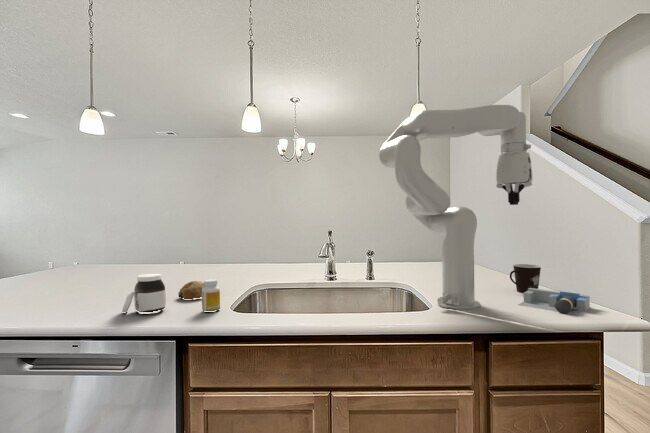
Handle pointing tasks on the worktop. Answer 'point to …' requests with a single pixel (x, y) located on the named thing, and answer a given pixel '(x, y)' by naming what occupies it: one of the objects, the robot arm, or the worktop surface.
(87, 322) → the worktop surface
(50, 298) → the worktop surface
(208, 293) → the supplement bottle
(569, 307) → the banded gray canister
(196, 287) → the bread roll
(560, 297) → the grey ledge plate
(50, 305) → the worktop surface
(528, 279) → the coffee mug
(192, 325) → the worktop surface
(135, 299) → the spread jar
